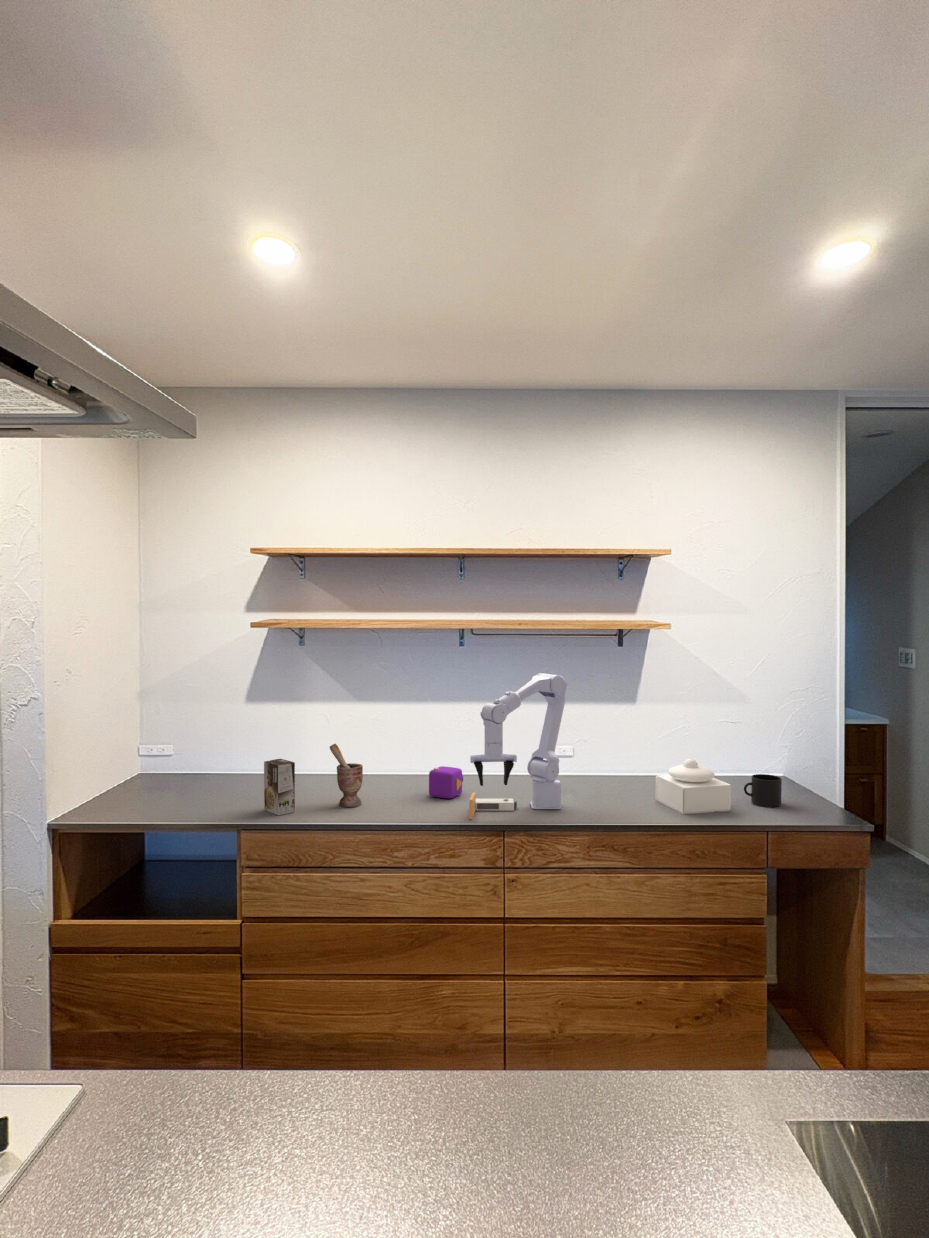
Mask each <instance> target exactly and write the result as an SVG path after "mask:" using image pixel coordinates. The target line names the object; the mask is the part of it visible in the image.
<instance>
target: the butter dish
mask: <svg viewBox="0 0 929 1238" xmlns="http://www.w3.org/2000/svg"><path fill="white" fill-rule="evenodd" d="M698 764H699V763H698V762H697V761H696V760H695V759H692V758H687V759H686V760H684V761H683V764H679V765H676V766H672V767H670V768H669V769H668V771H667V772H668V774H665V775H664V774H660V775H655V792H654V793H655V801H656V802H658V801H659V803H661V804H662V805H665V806H666V807H668V808H670V809H671V810H672V809H673V810H674V811H676V812H678V813H679V814H682V815H690V814H691V815H692V814H701V813H702V814H705V813H714V811H719V812H730V811H731V804H732V803H731V801H732V800H731V795H732V794H731V793H732V792H731V791H732V784H730V783H727V782H725V781H723V780H720V779H717V778H715V776H716V775H715V772H714V771H713V770H711V769H710V768H707V767H705V766H700V765H698Z"/></svg>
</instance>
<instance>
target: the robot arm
mask: <svg viewBox="0 0 929 1238" xmlns="http://www.w3.org/2000/svg"><path fill="white" fill-rule="evenodd" d="M567 687H568V683H567V681H566V680H565V677H564V676H562V675H561V674H551V673H542V672H539V673H537V674H536V675H533V676H532V677H531V680H530V681H528V682H526V683H525V684H524V685H523V686H521V687H520V688H519V689H517V690H516V691H515V692H514V691H505V692H504V695H502V696H501V697H498V698H496V699H494V701H493V703H491V702H488V703H486V704H484V705H483V707H482V709H481V712H480V718H481V719H482V721H483V725H484V754H478V755H477V754H475V755H470V757H469V758H470V760H469V761H470V763H471V764H473V765H474V767H475V769H476V772H477V777H478V781H479V785H480V786H482V787H484V777H483V776H484V775H483V774H484V765H483V763H497V762H498V763H501V762H503V784H504V785H505V786H507V785H508V781H509V777H510V775H511V771H512V770H513V768H514V765H515V763H517V760H518V756H517V754H511V753H510V754H507V753H506V754H505V753H503V750H504V749H503V748H504V747H503V732H504V731H503V729H504V728H503V727H504V726H503V725H504V722H505V721H506V719H507V717H508V715H509V714H511V713H512V712H514V711H516V710H517V709H518V708H520V707H521V703H522V701H524V700H526V699H527V698H530V697H531V696H532V695H535V694H536V693H539V694H540V695H541V696H542V697H543V698H544V699H545V700H546V702H547V707H546V710H545V711H546V712H545V714H544V715H545V716H544V721H543V722H544V723H543V725H542V729H541V734H540V739H539V745H538V748H537V749H536V750H535V751H533V752H532V753H531V757H530V760H529V761H528V763H527V765H526V766H527V773H528V775H530V779H531V781H532V783H531V787H532V788H531V801H529V803H530V807H531V809H532V810H562V806H561V805H562V804H561V803H562V799H561V798H562V795H561V794H562V792H561V791H562V787H561V781H560V779H557V778H558V776H559V774H560V765H559V763H560V759H559V756H557V754H556V747H557V742H558V738H559V733H560V732H559V731H560V727H561V723H562V718H563V714H564V713H563V712H564V710H565V709H564V708H565V704H566V692H567Z"/></svg>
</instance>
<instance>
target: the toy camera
mask: <svg viewBox="0 0 929 1238" xmlns="http://www.w3.org/2000/svg"><path fill="white" fill-rule="evenodd" d="M463 782H464V776H463V770H462V769H461V768H459V767H451V766H438V767H433V769H431V770H430V771H429V773H428V794H429V796H430V797H432V798H433V797H434V798H439V799H448V800H452V799H453V798H456V797H458V796H459V795H461V794H462V792H463Z"/></svg>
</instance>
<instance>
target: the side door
mask: <svg viewBox="0 0 929 1238" xmlns="http://www.w3.org/2000/svg"><path fill="white" fill-rule="evenodd" d="M476 795H477V793H476V791H473V792H472V793H471V795H470V798H469V809H468V811H469V813H468V814H469V817H468V818H469V819H470V820H472V819H473V818H474V815H475V812H476V811H475V809H476V799H477V797H476Z"/></svg>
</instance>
